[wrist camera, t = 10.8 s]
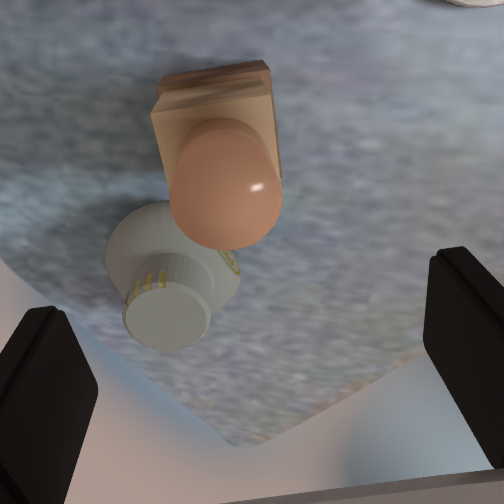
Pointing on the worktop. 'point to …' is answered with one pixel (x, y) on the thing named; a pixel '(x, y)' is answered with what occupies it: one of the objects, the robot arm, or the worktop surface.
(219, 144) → the brown rounded cylinder
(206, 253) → the air freshener
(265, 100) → the top block
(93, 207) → the worktop surface
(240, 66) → the base block
